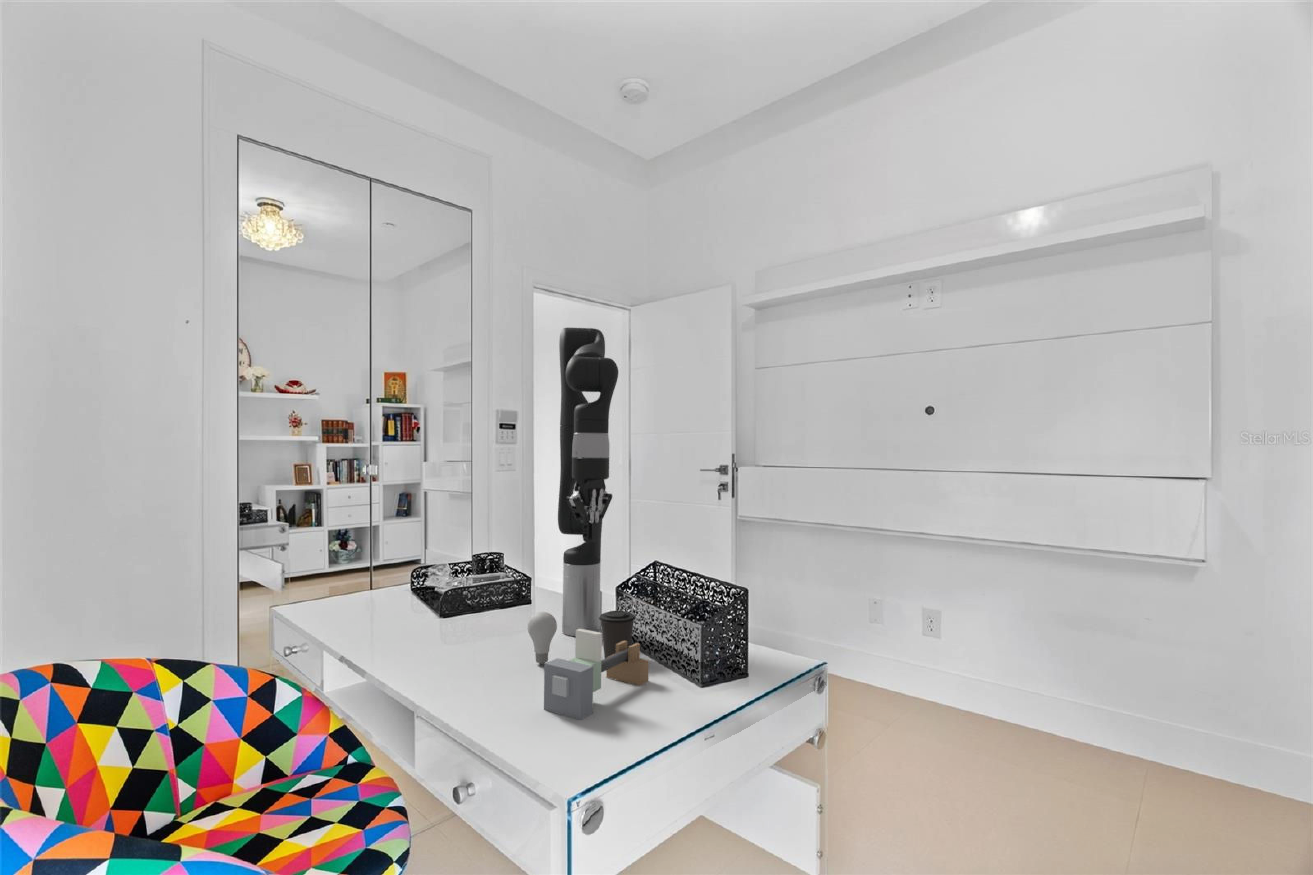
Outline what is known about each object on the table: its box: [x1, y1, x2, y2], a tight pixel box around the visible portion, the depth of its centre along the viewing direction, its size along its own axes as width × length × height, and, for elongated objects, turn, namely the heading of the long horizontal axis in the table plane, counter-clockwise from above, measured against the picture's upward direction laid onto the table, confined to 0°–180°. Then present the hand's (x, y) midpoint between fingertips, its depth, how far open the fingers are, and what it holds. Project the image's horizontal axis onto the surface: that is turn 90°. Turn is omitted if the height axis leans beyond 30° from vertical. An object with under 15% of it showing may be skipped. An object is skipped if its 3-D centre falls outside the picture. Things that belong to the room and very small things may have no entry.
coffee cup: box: [599, 610, 637, 659], centre depth 144 cm, size 8×8×10 cm
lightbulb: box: [527, 611, 558, 665], centre depth 140 cm, size 6×6×11 cm
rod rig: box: [543, 641, 650, 720], centre depth 123 cm, size 23×8×8 cm, turn 149°
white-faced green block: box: [567, 629, 603, 693], centre depth 119 cm, size 4×5×10 cm
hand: (589, 541), depth 134 cm, fingers closed
